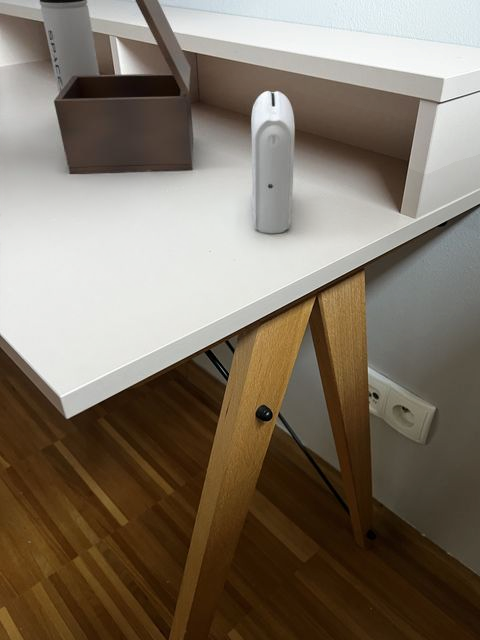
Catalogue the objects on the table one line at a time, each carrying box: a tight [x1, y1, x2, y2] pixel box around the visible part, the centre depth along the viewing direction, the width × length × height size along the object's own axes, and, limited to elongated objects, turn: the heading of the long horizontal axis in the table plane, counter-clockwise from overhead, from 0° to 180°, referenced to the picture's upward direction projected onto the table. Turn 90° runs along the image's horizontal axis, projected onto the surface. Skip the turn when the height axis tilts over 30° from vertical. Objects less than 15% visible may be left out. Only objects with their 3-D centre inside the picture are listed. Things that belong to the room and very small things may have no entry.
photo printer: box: [250, 90, 296, 234], centre depth 58 cm, size 10×4×12 cm, turn 0°
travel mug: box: [39, 0, 100, 94], centre depth 80 cm, size 6×7×20 cm
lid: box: [134, 0, 192, 95], centre depth 66 cm, size 16×13×6 cm
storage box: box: [53, 73, 194, 175], centre depth 74 cm, size 16×13×9 cm
